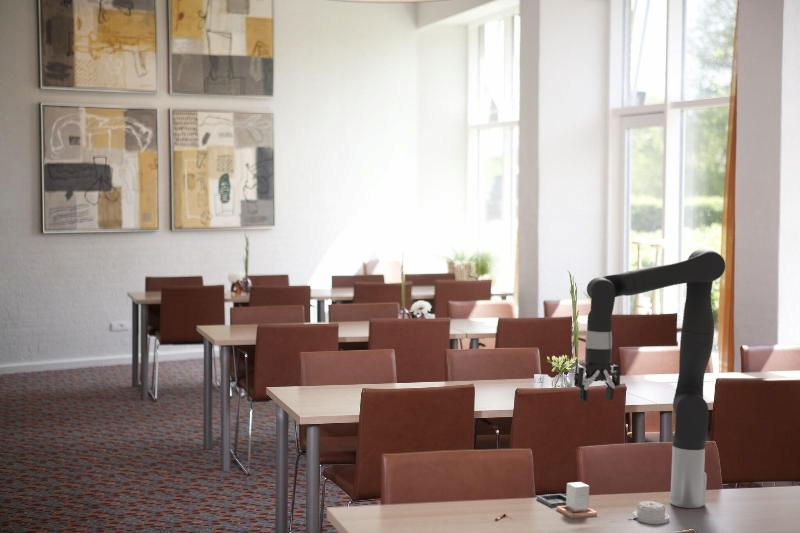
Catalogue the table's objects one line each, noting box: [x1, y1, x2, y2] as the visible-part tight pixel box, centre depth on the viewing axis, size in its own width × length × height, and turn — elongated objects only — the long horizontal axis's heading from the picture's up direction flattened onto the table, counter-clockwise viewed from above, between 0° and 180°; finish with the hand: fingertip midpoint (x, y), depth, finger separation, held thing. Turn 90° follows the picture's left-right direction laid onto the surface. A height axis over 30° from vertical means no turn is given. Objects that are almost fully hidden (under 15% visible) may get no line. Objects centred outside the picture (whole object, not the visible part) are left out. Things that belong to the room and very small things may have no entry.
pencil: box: [494, 513, 507, 522], centre depth 288 cm, size 1×19×1 cm, turn 148°
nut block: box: [565, 481, 590, 514], centre depth 286 cm, size 4×4×8 cm
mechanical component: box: [632, 500, 670, 525], centre depth 286 cm, size 10×4×10 cm
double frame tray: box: [535, 493, 601, 521], centre depth 291 cm, size 9×20×2 cm, turn 23°
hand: (596, 401), depth 298 cm, fingers open, 8 cm apart
